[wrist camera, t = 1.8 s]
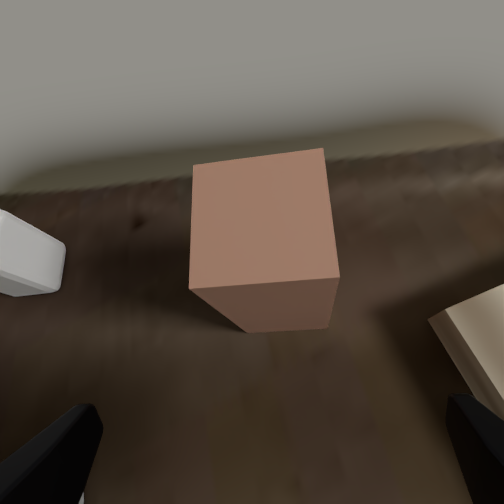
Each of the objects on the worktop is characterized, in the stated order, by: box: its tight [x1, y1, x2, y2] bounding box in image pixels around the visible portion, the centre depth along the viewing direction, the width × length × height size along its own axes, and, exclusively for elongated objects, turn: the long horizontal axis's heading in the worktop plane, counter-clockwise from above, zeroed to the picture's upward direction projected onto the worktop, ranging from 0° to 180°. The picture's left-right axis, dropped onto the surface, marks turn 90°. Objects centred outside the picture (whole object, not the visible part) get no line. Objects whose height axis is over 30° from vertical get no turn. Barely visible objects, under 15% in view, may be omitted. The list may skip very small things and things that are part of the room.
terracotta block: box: [189, 148, 340, 333], centre depth 17 cm, size 5×5×11 cm
